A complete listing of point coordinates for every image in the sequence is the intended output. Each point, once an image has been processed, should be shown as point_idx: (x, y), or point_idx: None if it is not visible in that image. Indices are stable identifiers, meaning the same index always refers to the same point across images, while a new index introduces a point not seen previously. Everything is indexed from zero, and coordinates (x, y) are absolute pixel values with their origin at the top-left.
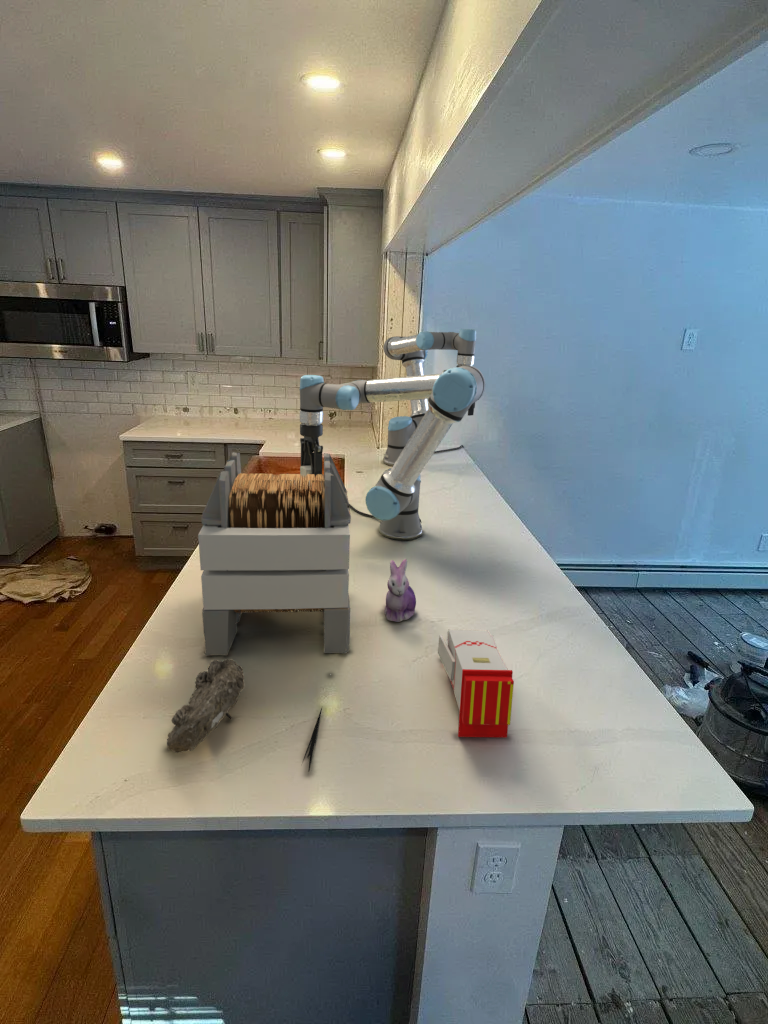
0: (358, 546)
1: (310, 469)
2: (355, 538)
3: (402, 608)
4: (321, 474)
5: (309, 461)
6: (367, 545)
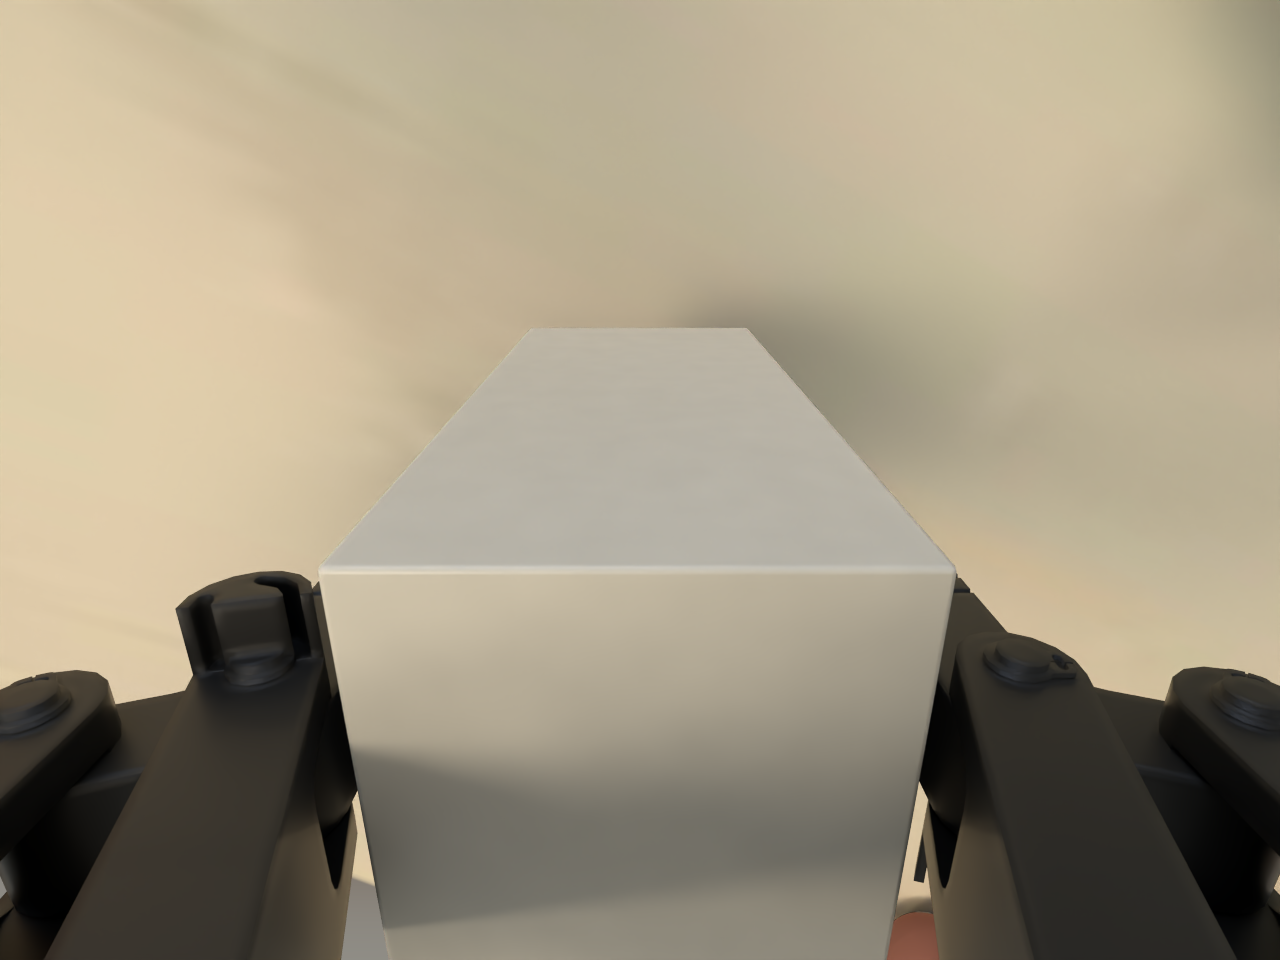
0: (1206, 117)
1: (869, 938)
2: (1033, 40)
3: None
4: (873, 487)
5: (279, 947)
6: (1249, 12)
